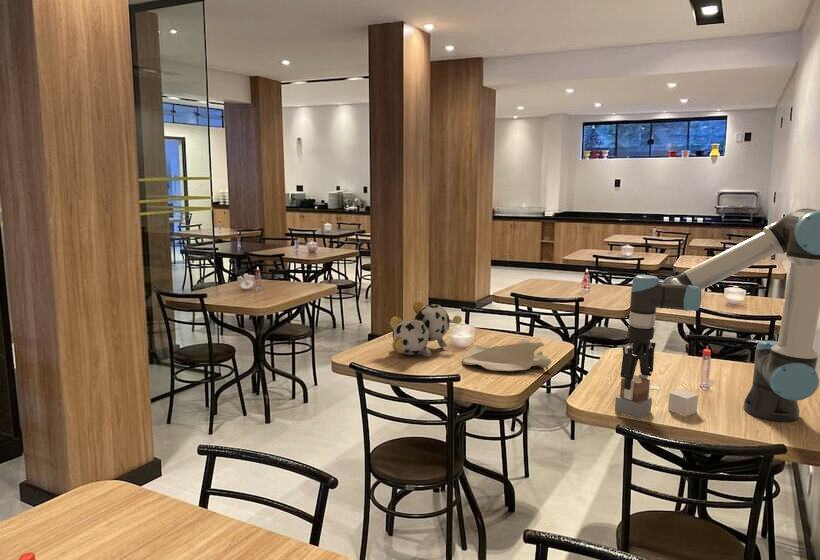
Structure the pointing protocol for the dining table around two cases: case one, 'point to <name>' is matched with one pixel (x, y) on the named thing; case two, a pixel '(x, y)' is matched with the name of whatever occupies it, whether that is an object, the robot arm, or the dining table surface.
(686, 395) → the white cube
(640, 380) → the walnut cube
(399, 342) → the toy
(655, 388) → the phone stand
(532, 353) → the beige wavy platter
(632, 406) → the platform block
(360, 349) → the dining table surface
